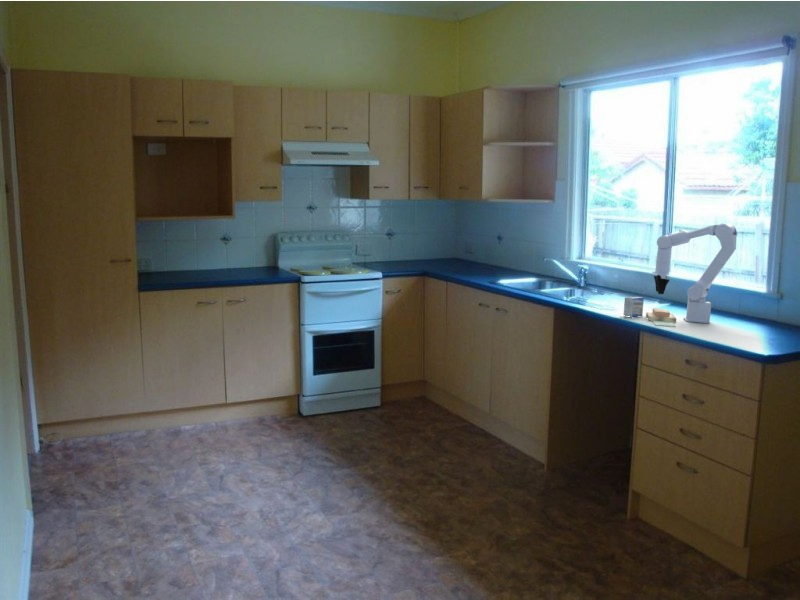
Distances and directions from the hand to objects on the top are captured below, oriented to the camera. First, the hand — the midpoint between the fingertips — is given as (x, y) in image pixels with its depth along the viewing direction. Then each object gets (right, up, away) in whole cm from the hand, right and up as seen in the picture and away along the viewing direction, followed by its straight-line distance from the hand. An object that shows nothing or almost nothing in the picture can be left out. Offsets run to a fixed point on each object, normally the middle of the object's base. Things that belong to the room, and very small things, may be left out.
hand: (659, 292), depth 325 cm
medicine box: (-13, -11, -3) cm, 17 cm away
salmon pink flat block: (-2, -10, -8) cm, 13 cm away
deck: (-3, -12, -8) cm, 15 cm away
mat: (-5, -13, -19) cm, 23 cm away
